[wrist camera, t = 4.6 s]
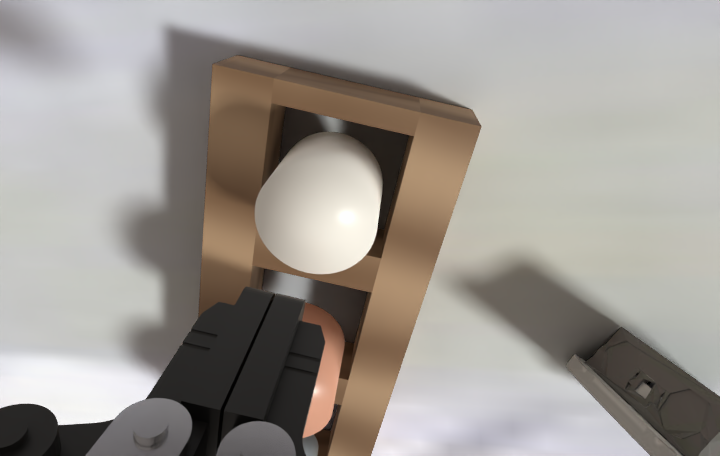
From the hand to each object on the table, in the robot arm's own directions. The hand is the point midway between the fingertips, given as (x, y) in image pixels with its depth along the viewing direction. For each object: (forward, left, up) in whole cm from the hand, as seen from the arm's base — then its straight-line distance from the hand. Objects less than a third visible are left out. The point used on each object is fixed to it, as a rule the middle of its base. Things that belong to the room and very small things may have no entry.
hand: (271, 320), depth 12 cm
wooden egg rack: (+8, 0, -13) cm, 15 cm away
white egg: (0, 0, -10) cm, 10 cm away
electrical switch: (+8, +20, -13) cm, 25 cm away
